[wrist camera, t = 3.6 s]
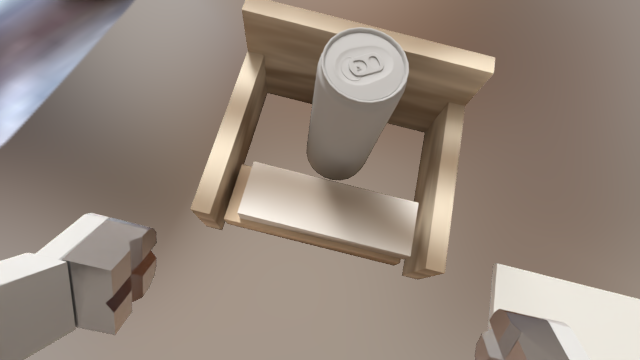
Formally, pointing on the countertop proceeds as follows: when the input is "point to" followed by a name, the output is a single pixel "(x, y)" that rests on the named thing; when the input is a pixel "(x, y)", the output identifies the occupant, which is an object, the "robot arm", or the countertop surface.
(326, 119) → the beverage can
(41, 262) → the robot arm
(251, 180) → the light wood bar
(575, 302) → the ceramic tile
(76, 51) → the countertop surface
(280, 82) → the birch rack
